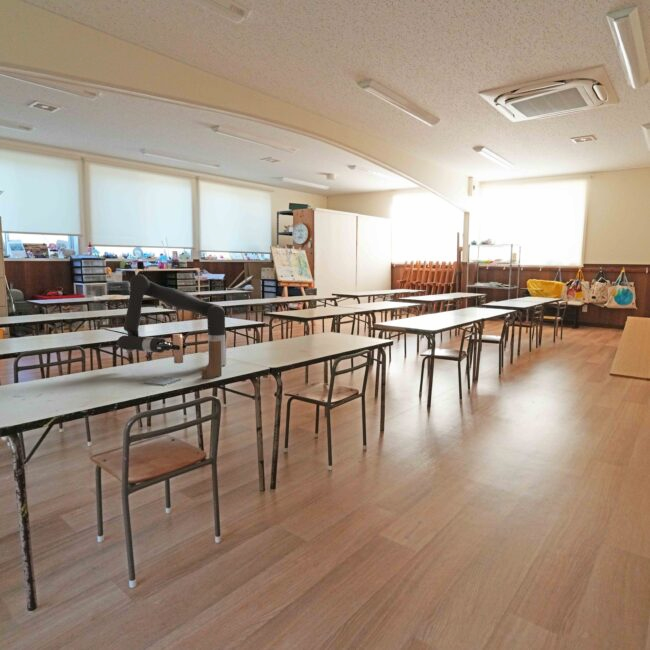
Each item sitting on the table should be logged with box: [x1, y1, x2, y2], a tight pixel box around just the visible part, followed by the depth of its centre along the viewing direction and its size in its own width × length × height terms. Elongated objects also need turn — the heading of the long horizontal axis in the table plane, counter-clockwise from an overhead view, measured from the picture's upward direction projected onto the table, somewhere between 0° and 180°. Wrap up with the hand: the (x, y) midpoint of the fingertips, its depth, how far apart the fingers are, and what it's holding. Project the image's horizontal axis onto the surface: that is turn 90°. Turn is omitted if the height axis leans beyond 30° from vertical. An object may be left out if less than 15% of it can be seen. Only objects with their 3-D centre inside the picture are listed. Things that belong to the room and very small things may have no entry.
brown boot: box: [201, 340, 223, 380], centre depth 230 cm, size 9×4×18 cm, turn 140°
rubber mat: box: [143, 376, 182, 386], centre depth 221 cm, size 12×12×1 cm
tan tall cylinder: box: [172, 333, 184, 364], centre depth 230 cm, size 4×4×14 cm
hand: (182, 346), depth 229 cm, fingers closed on tan tall cylinder, 4 cm apart
